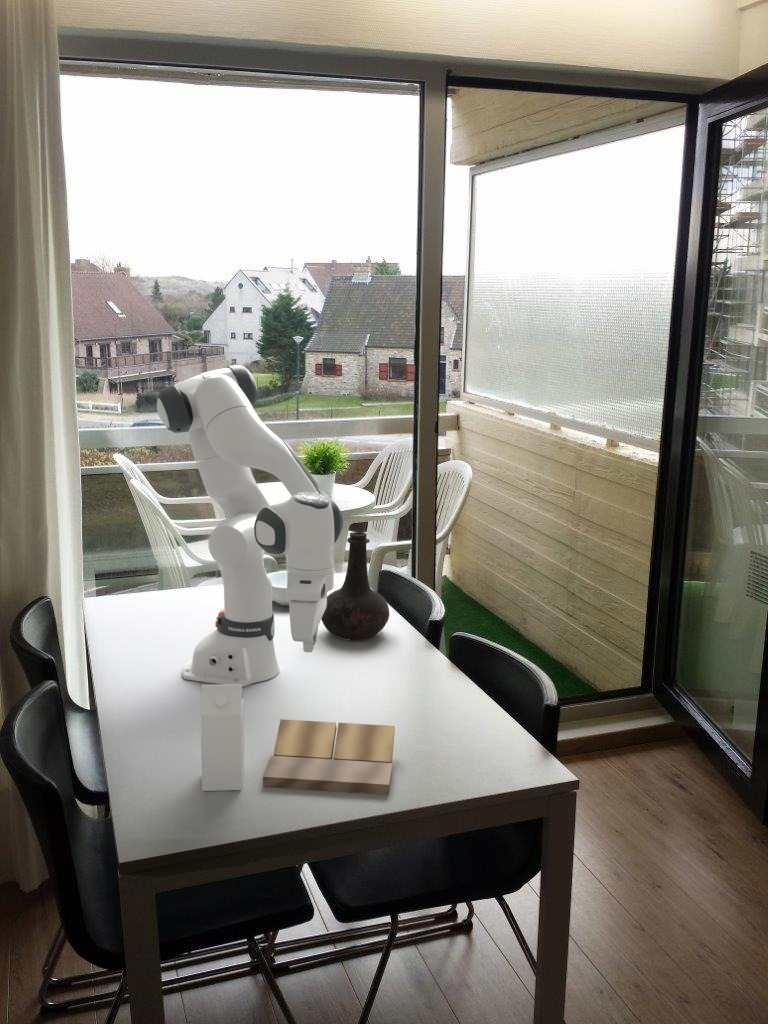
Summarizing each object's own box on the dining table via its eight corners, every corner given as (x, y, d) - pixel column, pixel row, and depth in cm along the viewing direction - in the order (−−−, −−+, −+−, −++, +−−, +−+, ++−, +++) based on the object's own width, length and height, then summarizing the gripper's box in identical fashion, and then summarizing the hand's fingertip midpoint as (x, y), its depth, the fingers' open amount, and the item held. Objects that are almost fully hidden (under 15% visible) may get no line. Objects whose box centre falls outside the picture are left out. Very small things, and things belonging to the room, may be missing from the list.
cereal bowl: (294, 615, 261) (294, 591, 260) (249, 603, 270) (248, 580, 268) (330, 599, 275) (330, 576, 274) (286, 589, 284) (286, 567, 282)
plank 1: (274, 760, 179) (273, 754, 177) (281, 725, 184) (280, 719, 183) (331, 763, 178) (330, 758, 176) (336, 728, 184) (335, 722, 182)
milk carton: (206, 772, 174) (204, 677, 170) (244, 771, 175) (243, 676, 171) (202, 791, 167) (199, 693, 163) (242, 790, 168) (240, 692, 164)
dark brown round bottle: (306, 635, 245) (307, 532, 239) (352, 619, 259) (353, 521, 253) (357, 653, 234) (359, 545, 228) (402, 634, 248) (405, 532, 241)
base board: (262, 786, 169) (262, 776, 169) (271, 765, 177) (271, 755, 177) (388, 794, 168) (389, 784, 167) (392, 772, 175) (392, 763, 175)
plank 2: (334, 764, 178) (333, 758, 176) (339, 728, 184) (338, 722, 182) (391, 767, 177) (391, 761, 176) (394, 731, 183) (394, 725, 181)
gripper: (303, 562, 187) (303, 628, 190) (284, 594, 167) (284, 666, 170) (334, 564, 187) (333, 629, 190) (318, 595, 167) (318, 668, 170)
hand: (310, 647), depth 180 cm, fingers open, 2 cm apart
